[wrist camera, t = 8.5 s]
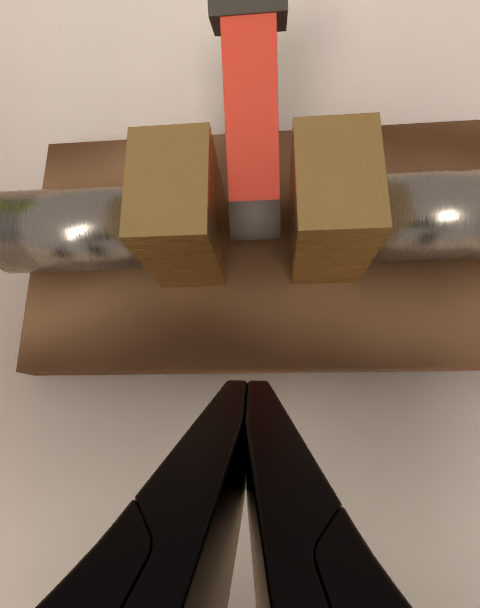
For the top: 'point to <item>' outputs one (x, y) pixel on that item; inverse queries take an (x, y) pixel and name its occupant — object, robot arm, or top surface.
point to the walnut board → (258, 291)
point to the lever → (251, 112)
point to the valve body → (212, 210)
